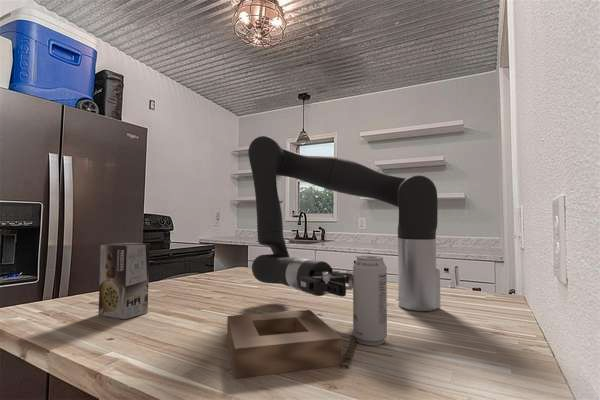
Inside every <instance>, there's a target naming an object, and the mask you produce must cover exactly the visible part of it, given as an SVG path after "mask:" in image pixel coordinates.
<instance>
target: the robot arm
mask: <svg viewBox="0 0 600 400" xmlns="http://www.w3.org/2000/svg"><path fill="white" fill-rule="evenodd" d="M247 152H248V153H247V154H248V160H249V165H250V169H251V170H250V171H251V174H252V179H253V186H254V194H255V206H256V230H257V231H256V232H257V233H256V234H257V241H258V244H259V245H261V246H265V247H269V248H270V250H271V252H272V253H270V254H267V253H266V254H261V255H258V256H256V258H254V259H253V262H252V264H251V272H252V275H253V276H254V278H255V279H256V280H257V281H259V282H261V283H264V284H277V285H284V286H287V287H289V288H290V287H291V288H293V289H295V290H297V291H299V292H302V293H305V294H309V295H312V296H315V297H322V296H325V295H334V296H338V297H345V296H347V290H348V291H353V271H349V270H348V271H345V272H344V271H343V272H342V271H340V270H333V268H332V266H331V265H330V264H329V263H328V262H327V261H324V260H316V259H310V258H297V257H291V256H290V254H289V252H288V248H287V245H286V241H285V239H284V224H283V213H282V208H281V204H280V203H281V202H280V199H279V194H278V186H277V184H278V183H277V176H281V177H287V178H291V179H296V180H300V181H302V182H304V183H308V184H310V185H313V186H317V187H320V188H322V189H326V190H329V191H334V192H336V193H340V194H346V195H349V196H353V197H354V196H356V197H360V198H366V199H367V198H368V199H373V200H378V201H380V202H381V201H382V202H384V203H387V204H388V205H391V206H395V207H397V208H398V224H397V266H398V267H397V273H398V274H397V277H398V279H397V281H398V282H397V283H398V286H397V287H398V288H397V289H398V294H397V295H398V298H397V299H398V306H399V307H401V308H403V309H405V310H410V311H418V312H429V311H430V312H432V311H436V310H437V309H441V270H440V269H439V268H437V229H438V211H439V210H438V206H439V204H438V202H439V200H438V190H437V187H436V184H435V183H434V182H433V181H432V180H431V178H428V177H427V176H424V175H419V174H418V175H412V176H409V177H399V176H394V175H389V174H385V173H381V172H378V171H376V170H375V169H372V168H370V167H368V166H365V165H363V164H362V163H358V162H356V161H353V160H350V159H347V158H346V159H345V158H342V157H339V156H333V155H324V154H320V155H319V154H318V155H317V154H314V155H313V154H312V155H311V154H309V155H308V154H301V153H298V152H294V151H291V150H288V149H285V148H283V147H281V145H280V144H279V143H278V142H277V141H276V140H275V139H274V138H272V137H270V136H267V135H260V136H257V137H256V138H255V139H253V140H252V141H251V142H250V145H249V147H248V151H247ZM346 284H348V285H346Z"/></svg>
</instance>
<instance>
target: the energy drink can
mask: <svg viewBox="0 0 600 400" xmlns="http://www.w3.org/2000/svg"><path fill="white" fill-rule="evenodd" d="M352 270H353V271H352V272H353V289H352V292H353V293H352V295H353V297H352V301H353V304H352V308H353V309H352V314H353V317H352V319H353V320H352V321H353V322H352V327H353V329H352V330H353V331H352V333H353V337H355V338H356V339H357V342H358V343H360V344H363V345H367V346H380V345H382V344H384V342H385V340H386V339H387V338H388V302H387V301H388V298H387V297H388V296H387V295H388V291H387V290H388V289H387V287H388V286H387V280H388V279H387V271H388V269H387V265H386V263H385V262H384V257H383V256H377V255H375V256H374V255H358V256H356V260H355V262H354V263H353V267H352Z"/></svg>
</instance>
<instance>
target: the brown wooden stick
mask: <svg viewBox="0 0 600 400" xmlns="http://www.w3.org/2000/svg"><path fill="white" fill-rule="evenodd" d="M357 342H358V341H357V339H356V337H355V336H351V337H350V339H349V342H348V344H347V345H348V346H347V347H346V350H345V353H344V355H343V356H342V363H341V364H340V365H339V368H340V369H347V370H348V369H350V366H351V361H352V358H353V354H355V353H354V352H355V349H356V345H357Z"/></svg>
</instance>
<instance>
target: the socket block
mask: <svg viewBox="0 0 600 400" xmlns="http://www.w3.org/2000/svg"><path fill="white" fill-rule="evenodd" d="M226 323H227V327H226V329H227V330H226V339H227V345H228V350H229V356H230V361H231V367H232V372H233V379H243V378H249V377H257V376H267V375H273V374H282V373H291V372H298V371H305V370H307V371H308V370H314V369H320V368H321V369H322V368H323V369H324V368H329V367H330V368H331V367H338V366H339V367H340V364H341V363H342V359H343V337H342V336H341V335H340V334H338V333H337V332H336V331H335V330H334V329H333V328H331V327H330V326H329V325H328V324H327V323H326V322H325V321H324V320H322V319H321V318H319V317H318V315H316V314H315V312H313V311H312V310H311V309H306V310H305V309H304V310H303V309H302V310H291V311H278V312H277V311H276V312H275V311H274V312H264V313H249V314H237V315H227V322H226Z"/></svg>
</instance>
